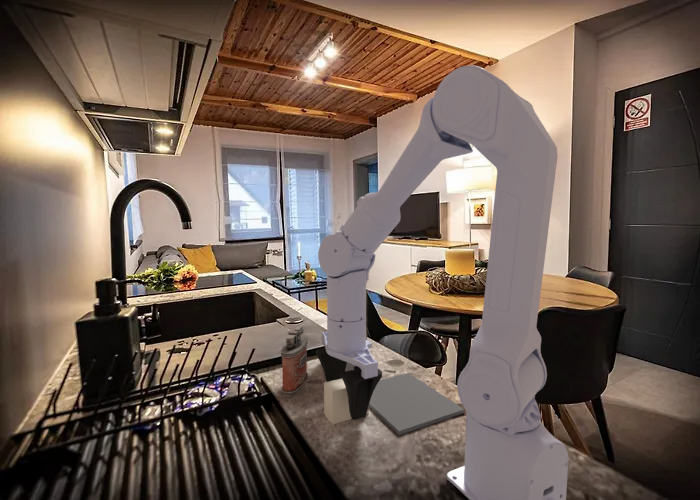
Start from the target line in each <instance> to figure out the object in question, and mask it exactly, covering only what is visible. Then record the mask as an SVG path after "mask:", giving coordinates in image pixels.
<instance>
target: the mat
mask: <svg viewBox="0 0 700 500" xmlns="http://www.w3.org/2000/svg"><path fill="white" fill-rule="evenodd" d="M369 409H370V410H371V411H372V412H374V413H375V415H376V416H378V417H379V418H380V419H381V420H382V421H383V422H384V423H385V424H387V425H388V427H389V428H391V429H392V430H393V431H394V432H395V433H396V434H397V435H398V436H401V435H403V434H407V433H410V432H412V431H415V430H419V429H422V428H424V427H427V426H430V425H434V424H436V423H439V422H442V421H444V420H445V421H446V420H448V419H451V418H454V417H457V416H460V415H462V414H464V413H465V408H464V407H463V406H460V405H459V404H457V403H456V402H454V401H453V400H451V399H449V398H447V397H446V396H445V395H443V394H441V393H440V392H438V391H437V390H436V389H435V388H433V387H431V386H429V385H428V384H426V383H425V382H423V381H422V380H420V379H419V378H417V377H415V375H413V374H411V373H409V372H407V373H403V374H399V375H395V376H391V377H386V378H383V379H382V378H381V379H380V381H379V382H378V384H377V385H376V387H375V389H374V391H373V394H372V396H371V399H370V403H369Z"/></svg>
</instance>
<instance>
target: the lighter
mask: <svg viewBox="0 0 700 500" xmlns="http://www.w3.org/2000/svg"><path fill="white" fill-rule="evenodd" d="M302 335H304V327H303V326H302V325H298V326H296V328H294V330H288V333H287V336H286V337H285V344H284V346H283V347H282V348H281V349H280V356H281V362H282V363H281V364H282V368H281V369H282V386H281V396H282V397H284V398H293V397H296V396H297V395H299V393H301V392H302V390H303V389H304V388H305V387H306V385H307V383H308V380H309V373H308V371H307V370H308V363H307V362H308V361H307V360H308V355H307V354H308V353H307V351H308V350H307V349H308V348H307V347H308V346H307V345H308V343H309V341H308V338H307V337H304V336H302Z"/></svg>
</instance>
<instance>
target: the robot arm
mask: <svg viewBox="0 0 700 500" xmlns="http://www.w3.org/2000/svg"><path fill="white" fill-rule="evenodd" d="M420 116H421V117H420V121H419V124H418V128H417V130H416V131H415V132H414V135H413V136H412V138H411V139H410V141H409V142H408V144H407V145H406V147H405V148H404V150H403V151H402V153H401V155H400V156H399V158H398V160H397V162H396V163H395V164H394V166H393V167H392V169H391V171H390V173H389V174H388V176H387V178H386V179H385V180H384V182H383V184H382V185H381V186H380V188H379V190H377V191H376V192H375V191H374V192H368V193H366V194H365V195H364V196H360V197H359V198H358V200H357V201H356V203H355V204H356V208H355V209H354V210H353V211H352V212H351V214H350V216H349V217H348V219H346V221H345V222H344V223H343V224H342V225H341V226H340V227H339V230H338V231H336V232H335V233H334V234H328V235H325V237H323V239H322V241H321V243H320V245H319V248H318V253H317V255H318V256H317V259H318V263H319V266H320V268H321V270H322V271H323V272H324V273H325V275H326V310H327V311H326V325H327V327H326V331H322V332H321V344H322V346H323V348H319V349H316V351H315V355H316V357H317V358H318V359H317V360H318V362H319V363H320V365H321V369H322V371H323V375H324V378H325V382H329V381H333V380H338V379H343V381H344V384H345V387H346V390H347V395H348V402H349V411H350V416H351V418H352V419H351V420H352V421H357V420H361V419H364V418H366V417H367V415H368V414H367V410H368V407H369V403H370V399H371V396H372V394H373V391H374V389H375V387H376V385H377V384H378V382H379V381H380V380H382V378H383V371H382V370H381V369H380V368H379V367H378V366H379V362H378V361H377V360H375V358H374V357H373V355H372V353H371V351H370V349H371V348H373V343H372V342H371V341H370V340H368V339H367V340H366V289H367V283H368V281H369V277H370V276H369V274H370V270H371V269H372V267H373V266H374V263H375V261H376V254H375V252H376V251H377V250H378V249H379V247H380V246H381V245H382V244H383V243H384V242H385V240H386V239H387V238H388V236H389V235H390V234H391V233H392V231H393V230H394V229H395V228H396V227H397V226H398V224H399V223H400V222H401V217H402V216H401V215H402V214H401V210H400V209H401V207H402V205H403V204H404V203H405V202H406V201H407V199H409V197H410V196H412V194H414V192H415V191H416V190H417V189H418V187H419V186H420V185H421V184H422V183H423V182H424V181H425V180H426V179H427V177H428V176H429V175H430V174H431V173H432V172H433V171H434V170H435V169H436V167H438V165H439V164H440V163H441V162H442V161H444V160H447V159H450V158H455V157H460V156H464V155H468V154H471V153H473V152H474V150H473V148H472V146H474V148H475V149H476V150H477V151H478V152H479V153H480V155H482V156H483V157H484V158H485V159H486V160H487V161H489V162H490V163H491V165H493V166H494V167H495V168H496V181H495V190H494V201H493V210H492V211H493V212H492V218H491V219H492V220H491V230H490V241H489V249H488V259H487V267H486V277H485V289H484V298H483V308H482V316H481V317H482V318H481V324H480V326H479V329H478V331H477V333H476V335H475V337H474V339H473V341H472V343H471V345H470V349H469V357H468V362H467V363H466V365H465V367H463V370H462V371H460V374H459V376H458V378H457V384H456V385H457V387H456V388H457V395H458V399H459V401H460V403H461V405H462V407H463V409H464V410H466V411H465V414H466V415H465V439H464V441H465V443H464V444H465V445H464V465H463V466H460V467H458V468H456V469H453V470H451V471H449V472H447V473H446V478H447V480H448V481H449V482H450V483H451V484H453V486H455V488H457V489H458V490H459V491H460V492H461V493H462V494H463V495H464V496H465V497H466V498H467V499H468V500H567V490H568V489H567V487H568V476H569V475H568V473H569V454H568V450H567V447H566V446H565V444H564V443H563V442H561V441H560V440H559V439H557V438H556V437H555V436H554V435H553V434H552V433H551V432H549V430H548V429H547V428H546V426H544V424H543V422H542V421H541V415H542V414H541V413H540V408H539V406H538V403H537V400H536V399H535V398H536V395H537V393H539V391H541V390H542V389H543V388H544V386H545V385H546V382H547V376H548V373H547V372H548V371H547V366H546V363H545V361H544V358H543V357H542V356H543V355H542V353H541V351H542V350H541V349H542V348H541V346H542V345H541V344H542V336H541V334H540V331H538V328H537V323H538V317H539V316H538V315H539V308H540V300H541V294H542V291H541V290H542V284H543V276H544V268H545V259H546V252H547V243H548V237H549V236H548V235H549V227H550V222H551V221H550V220H551V211H552V210H551V209H552V204H553V203H552V202H553V196H554V195H553V193H554V187H555V179H556V172H557V171H556V170H557V164H558V157H559V156H558V148H557V145H556V142H555V141H554V140H553V139H552V137H551V135H550V134H549V132H548V130H547V129H546V127H545V125H544V124H543V122H542V121H541V119H540V117H539V116H538V114H537V113H536V111H535V109H534V106H533V104H532V103H531V102H530V101H528V100H526V99H525V98H523V97H522V96H520V95H519V94H518V93H516V92H515V91H514V90H513V89H512V88H511V86H509V84H507V83H506V82H505V81H504V80H503V79H500V78H499V77H498V76H496V75H494V73H492V72H491V71H488V70H487V69H486V68H483V67H481V66H478V65H471V64H470V65H463V66H460V67H458V68H456V69H454V70H452V71H451V72H450V73H448V74H447V75H446V76H445V77H444V78H443V79H442V80H441V82H440V83H439V85H438V87H437V88H436V90H435V93H434V95H433V97H431V98H430V99H429V100H428V101H427V102H426V103H425V104H424V106H423V108H422V111H421V115H420ZM347 362H348V363H351V364H352V365H354V370H350V371H345V370H346V365H347ZM369 408H370V407H369Z"/></svg>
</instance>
